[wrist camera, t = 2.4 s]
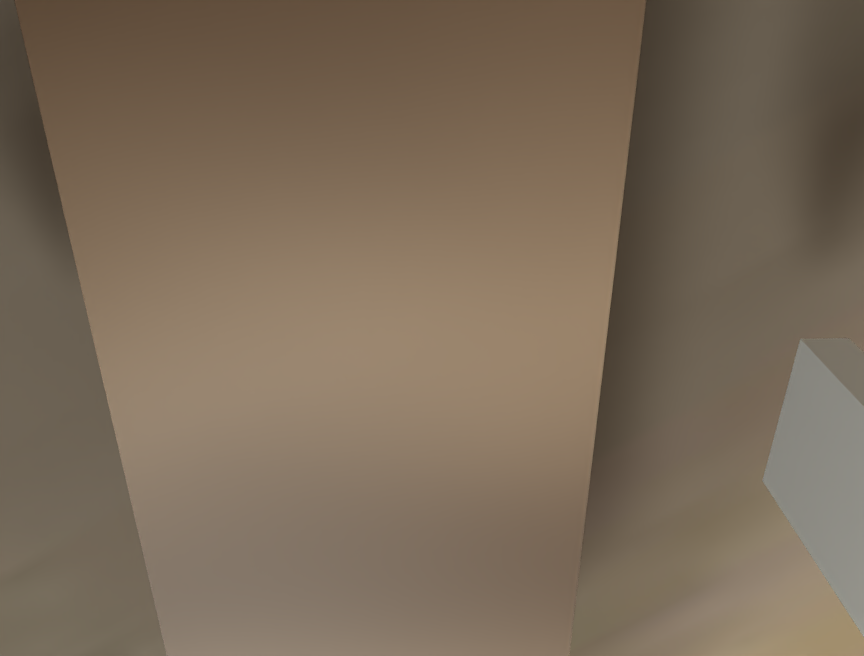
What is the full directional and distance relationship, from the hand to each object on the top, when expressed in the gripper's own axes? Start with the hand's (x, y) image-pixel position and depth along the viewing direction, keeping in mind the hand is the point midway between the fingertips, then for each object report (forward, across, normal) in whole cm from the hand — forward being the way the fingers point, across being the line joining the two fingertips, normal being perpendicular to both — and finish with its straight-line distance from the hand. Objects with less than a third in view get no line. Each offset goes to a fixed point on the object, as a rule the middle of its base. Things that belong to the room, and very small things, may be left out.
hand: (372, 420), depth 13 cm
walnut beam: (+4, 0, 0) cm, 4 cm away
